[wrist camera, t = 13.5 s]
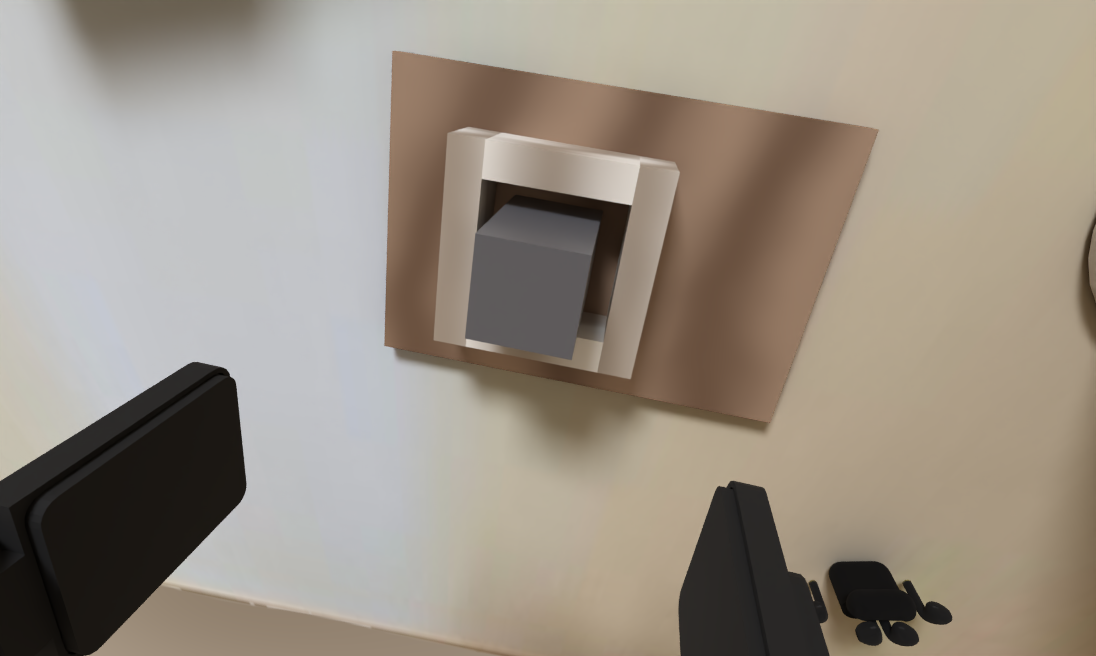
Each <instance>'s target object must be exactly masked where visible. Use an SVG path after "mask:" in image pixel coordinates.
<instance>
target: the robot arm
mask: <svg viewBox="0 0 1096 656" xmlns="http://www.w3.org/2000/svg"><path fill="white" fill-rule="evenodd" d="M1088 263H1089V280H1090V286H1091V289H1092V292H1093V295H1094V298H1095V301H1096V225H1095V227H1094V230H1093V235H1092V240H1091V246H1090V251H1089V257H1088ZM245 491H246V475H245V466H244V456H243V446H242V436H241V427H240V417H239V407H238V398H237V388H236V382H235V380H234V379H233V378H231V377H230V374H229V372H228V371H227V369H225V368H222V367H218V366H213V365H209V364H204V363H200V362H192V363H190V364H188V365H186V366H184V367H183V368H181V369H180V370H178V371H176V372H175V373H173V374H172V375H170V376H168V377H167V378H165V379H164V380H162V381H160V382H159V383H157V384H156V385H154V386H152V387H151V388H149V389H147V390H146V391H144V392H143V393H141V394H139V395H138V396H136V397H135V398H133V399H131V400H130V401H128V402H127V403H125V404H123V405H122V406H120V407H119V408H117V409H115V410H114V411H112V412H111V413H109V414H107V415H106V416H104V417H102V418H101V419H99V420H98V421H96V422H94V423H93V424H91V425H90V426H88V427H86V428H85V429H83V430H82V431H80V432H78V433H77V434H75V435H74V436H72V437H70V438H69V439H67V440H66V441H64V442H62V443H61V444H59V445H57V446H56V447H54V448H53V449H51V450H49V451H48V452H46V453H45V454H43V455H41V456H40V457H38V458H37V459H35V460H33V461H32V462H30V463H29V464H27V465H25V466H24V467H22V468H21V469H19V470H17V471H16V472H14V473H13V474H11V475H9V476H8V477H6V478H4V479H3V480H1V481H0V656H84V655H85V656H86V655H90V654H92V653H93V652H95V651H97V650H98V649H99V648H100V647H101V646H102V645H103V644H104V643H105V642H106V641H107V640H108V639H109V638H110V637H111V636H112V635H113V634H114V633H115V632H116V631H117V630H118V628H120V626H121V625H122V624H123V623H124V622H125V621H126V620H127V619H128V618H129V617H130V616H131V615H132V614H133V613H134V612H135V611H136V610H137V609H138V608H139V607H140V606H141V605H142V604H143V603H144V602H145V601H146V600H147V598H148V597H149V596H150V595H151V594H152V593H153V592H154V591H155V590H156V589H157V588H158V587H159V586H160V585H161V584H162V583H163V582H164V581H165V580H166V579H167V578H168V577H169V576H170V575H171V574H172V573H173V572H174V570H175V569H176V568H177V567H178V566H179V565H180V564H181V563H182V562H183V561H184V560H185V559H186V558H187V557H188V556H189V555H190V554H191V553H192V552H193V551H194V550H195V549H196V548H197V547H198V546H199V545H200V544H201V543H202V541H203V540H204V539H205V538H206V537H207V536H208V535H209V534H210V533H211V532H212V531H213V530H214V529H215V528H216V527H217V526H218V525H219V524H220V523H221V522H222V521H223V520H224V519H225V518H226V517H227V516H228V515H229V513H230V512H231V511H232V510H233V509H234V508H235V507H236V506H237V505H238V504H239V503H240V502H241V500H242V498H243V496H244V494H245ZM679 632H680V652H681V656H829V652H828V649H827V646H826V643H825V639H824V636H823V633H822V629H821V626H820V623H819V620H818V616H817V613H816V610H815V607H814V603H813V600H812V597H811V594H810V590H809V587H808V585H807V582H806V580H805V578H804V577H803V576H802V575H801V574H797V573H793V572H788V570H787V567H786V563H785V559H784V556H783V552H782V548H781V545H780V541H779V537H778V534H777V530H776V526H775V523H774V519H773V516H772V512H771V508H770V505H769V501H768V497H767V494H766V491H765V489H764V488H763V487H759V486H754V485H750V484H745V483H741V482H736V481H730V483H729V484H728V486H727V488H725V487H721V486H718V487H717V489H716V491H715V493H714V496H713V499H712V502H711V505H710V508H709V511H708V514H707V516H706V519H705V522H704V525H703V528H702V531H701V534H700V537H699V540H698V542H697V545H696V548H695V551H694V554H693V557H692V560H691V563H690V566H689V569H688V571H687V574H686V577H685V580H684V583H683V586H682V589H681V592H680V598H679Z"/></svg>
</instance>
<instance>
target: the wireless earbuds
mask: <svg viewBox="0 0 1096 656" xmlns="http://www.w3.org/2000/svg"><path fill="white" fill-rule="evenodd" d="M829 578H830V580H831V583H832V586H833V588H834V591H835V593H836V596H837V598H838V601H839V604H840V606H841V609H842V611H843V613H844V614H845V615H846V616H848V617H850V618H855V619H857V618H858V619H860V620H863V621H867V622H862V623H860V624H859V625H858V626H857V627H856V629H855V632H856V635H857V638H858V640H859V641H860V642H862V643H864V644H867V645H871V646H876V645H879V644H880V643H881V642H882V633H881V630H880V628H879V626H878V625H877V622H876V620H879V622H880V624H881V627H882V629H883V631H884V633H885V635H886V636H887V638H888V639H889V640H890V641H892V642H893V643H895V644H898V645H901V646H914V645H916V644H917V643H918V642H919V637H918V634H917V632H916V631H915V630H914V629H913V628H912V627H910V626H909V625H907V624H905V623H903V622H895V623H894V624H893V625H892V626H891V624H890V622H889V621H911V620H913V619H914V618H915V616H916V610H917V612H918V614H919V615H920V616H921V617H922V618H923V619H924V620H925V621H927V622H929V623H933V624H939V625H944V624H948V623H950V622H951V621H952V615H951V613H950V611H949V610H948V609H947V608H946V607H944V606H943V605H941V604H939V603H937V602H932V601H931V602H928V603H927V604H926V606H924V605H923V603H922V601H921V599H920V597H919V595H918V594H917V592H916V590H915V588H914V586H913V584H912V583H911V581H910V580H905V581H903V586H904V588H905V589H906V591H907V593H908V594H907V593H905V592H904V591H901V590H899V588H898V586H897V584H896V582H895V580H894V578H893V577H892V575H891V573H890V571H889V570H888V568H887V567H886V566H884V565H883V564H881V563H879V562H875V561H860V562H837V563H835V564H833V565H832V566H831V568H830V570H829ZM809 585H810V588H811V591H812V594H813V597H814V600H815V601H813V603H814V607H815V610H816V613H817V616H818V620H819V623H824V622H825V621H827V619H828V613H827V610H826V607H825V604H824V601H823V598H822V596H821V593H820V590H819V587H818V584H817V582H816V581H815V580H811V581H810V582H809Z"/></svg>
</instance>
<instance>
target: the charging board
mask: <svg viewBox="0 0 1096 656" xmlns="http://www.w3.org/2000/svg"><path fill="white" fill-rule="evenodd" d="M878 131H879V130H878V129H873V128H868V127H862V126H856V125H850V124H844V123H837V122H831V121H825V120H819V119H813V118H807V117H800V116H794V115H788V114H782V113H776V112H770V111H764V110H757V109H751V108H745V107H739V106H733V105H727V104H720V103H714V102H708V101H702V100H696V99H690V98H684V97H677V96H671V95H665V94H659V93H653V92H647V91H640V90H634V89H628V88H622V87H616V86H610V85H603V84H597V83H591V82H585V81H579V80H573V79H567V78H560V77H554V76H548V75H542V74H536V73H530V72H523V71H517V70H511V69H505V68H499V67H493V66H487V65H480V64H474V63H468V62H462V61H456V60H450V59H443V58H437V57H431V56H425V55H419V54H413V53H407V52H400V51H393V53H392V89H391V126H390V163H389V199H388V236H387V273H386V309H385V346H388V347H393V348H398V349H403V350H408V351H413V352H418V353H423V354H428V355H433V356H438V357H443V358H448V359H453V360H458V361H463V362H468V363H473V364H478V365H483V366H488V367H493V368H498V369H503V370H508V371H513V372H518V373H523V374H528V375H533V376H538V377H543V378H548V379H553V380H558V381H563V382H568V383H573V384H578V385H583V386H588V387H593V388H598V389H603V390H608V391H613V392H618V393H623V394H628V395H633V396H638V397H643V398H648V399H653V400H658V401H663V402H668V403H673V404H678V405H683V406H688V407H693V408H698V409H703V410H708V411H713V412H718V413H723V414H728V415H733V416H738V417H743V418H748V419H753V420H758V421H763V422H768V423H770V421H771V419H772V416H773V413H774V411H775V408H776V405H777V403H778V400H779V397H780V394H781V392H782V389H783V386H784V384H785V381H786V378H787V376H788V373H789V370H790V368H791V365H792V362H793V359H794V357H795V354H796V351H797V349H798V346H799V343H800V341H801V338H802V335H803V333H804V330H805V327H806V324H807V322H808V319H809V316H810V314H811V311H812V308H813V306H814V303H815V300H816V298H817V295H818V292H819V290H820V287H821V284H822V281H823V279H824V276H825V273H826V271H827V268H828V265H829V263H830V260H831V257H832V255H833V252H834V249H835V246H836V244H837V241H838V238H839V236H840V233H841V230H842V228H843V225H844V222H845V220H846V217H847V214H848V211H849V209H850V206H851V203H852V201H853V198H854V195H855V193H856V190H857V187H858V185H859V182H860V179H861V176H862V174H863V171H864V168H865V166H866V163H867V160H868V158H869V155H870V152H871V150H872V147H873V144H874V142H875V139H876V136H877V133H878ZM514 195H521V196H526V197H531V198H537V199H542V200H548V201H553V202H559V203H564V204H569V205H575V206H580V207H586V208H591V209H597V210H602V211H603V214H602V219H601V224H600V229H599V234H598V240H597V245H596V250H595V255H594V260H593V265H592V270H591V276H590V281H589V286H588V291H587V296H586V300H585V305H584V309H583V313H582V318H581V322H580V326H579V331H578V335H577V339H576V344H575V348H574V352H573V357H572V360H568V359H563V358H558V357H553V356H549V355H544V354H539V353H534V352H529V351H524V350H519V349H514V348H509V347H504V346H499V345H494V344H489V343H484V342H479V341H474V340H470V339H465V332H466V322H467V312H468V302H469V292H470V282H471V272H472V262H473V252H474V242H475V233H476V232H477V231H478V230H479V229H480V228H481V227H482V226H483V225H484V224H486V223H487V222H488V221H489V220H490V219H491V218H492V217H493V216H494V215H495V214H496V213H497V212H498V211H499V210H500V209H501V208H502V207H503V206H504V205H505V204H506V203H507V202H508V201H509V200H510V199H511V198H512V197H513V196H514Z"/></svg>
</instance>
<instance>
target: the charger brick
mask: <svg viewBox="0 0 1096 656" xmlns="http://www.w3.org/2000/svg"><path fill="white" fill-rule="evenodd" d="M602 214H603V211H602V210H597V209H591V208H586V207H580V206H575V205H569V204H564V203H559V202H553V201H548V200H542V199H537V198H531V197H526V196H521V195H514V196H513V197H512V198H511V199H510V200H509V201H508V202H507V203H506V204H505V205H504V206H503V207H502V208H501V209H500V210H499V211H498V212H497V213H496V214H495V215H494V216H493V217H492V218H491V219H490V220H489V221H488V222H487V223H486V224H484V225H483V226H482V227H481V228H480V229H479V230H478V231H477V232H476V233H475V242H474V252H473V262H472V272H471V282H470V292H469V302H468V312H467V322H466V332H465V339H470V340H474V341H479V342H484V343H489V344H494V345H499V346H504V347H509V348H514V349H519V350H524V351H529V352H534V353H539V354H544V355H549V356H553V357H558V358H563V359H568V360H572V357H573V352H574V348H575V344H576V339H577V335H578V331H579V326H580V322H581V318H582V313H583V309H584V305H585V300H586V296H587V291H588V286H589V281H590V276H591V270H592V265H593V260H594V255H595V250H596V245H597V240H598V234H599V229H600V224H601V219H602Z"/></svg>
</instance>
